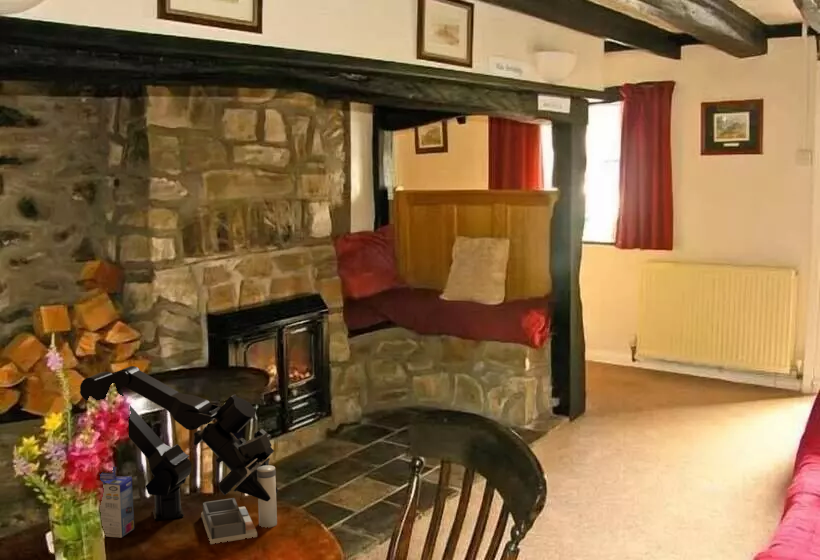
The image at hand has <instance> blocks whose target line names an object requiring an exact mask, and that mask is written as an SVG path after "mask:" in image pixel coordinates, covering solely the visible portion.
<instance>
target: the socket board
mask: <svg viewBox="0 0 820 560" xmlns="http://www.w3.org/2000/svg"><path fill="white" fill-rule="evenodd" d="M200 516H201V520H202V522H203V523H202V524H203V527H204V530H205V532H206V535H207V539H208V538H209V539H208V541H210V542H209V545H214V544H215V543H216V544H219V543H220V542H222V543H228V542H233V541H239V540H245V538H247V539H253V538H257V537H258V531H257V529H256V526H255V525H254V523H253V520H252V518H251V516H250V515H249V512H248V510H247V508H246V506H239V505H238V502H237V500H236V498H235V497H232V498H225V499H217V500H211V501H203V502H202V512H201V515H200ZM252 537H253V538H252ZM227 541H228V542H227ZM220 544H221V543H220Z"/></svg>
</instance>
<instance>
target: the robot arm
mask: <svg viewBox="0 0 820 560" xmlns="http://www.w3.org/2000/svg"><path fill="white" fill-rule="evenodd" d="M112 383H115V384H116V388H117V391H118V393H119V394H120V395H122V396H124V397H125V395H124V390H123V388H124V387H125V388H127V389H129V390H131V391H132V392H134V393H136V394H137V395H139V396H141V397H143V398H145V399H146V400H148V401H150V402H152V403H154V404H155V405H157V406H159V407H161V408H163V409H164V410H166V411H167V412H168V413H169V414H170V415H171V417H172V418H173V420H174V421H175V422H176V423H177V424H179V425H180V426H181V427H183V428H184V429H186V430H188V431H194V430H196V431H195V432H194V433H193V435H194V436H193V438H194V440H193V445H194V446H197V445H198V444H200V443H202V442H204V444H206V446H207V447H208V448H209V449H210V450H211V451H212V453H214V454H215V455H216V457H218V458H217V459H216V460H215V461H216V462H217V463H218V464H221V463H222V464H224V465H225V466H226V468H228V469H229V473H228V474H227V475H226V476H224V478H223V479H221V481H220V482H219V483H218V490H219V491H220V492H221V494H222V495H224V496H226V495H227V494H228V493H229V492H231V491H232V489H233V488H234V489H233V492H234V493H235V492H239V493H242V494H246V495H249V496H251V497H254V498H257V499H258V498H259V499H262V500H264V501H269V500H270V499H271V498H270V496H269V495H268V493H267V492H266V491H265V489H264V488H263V487H262V485H261V484H260V483H259V482H258V480H257V468H258V467H260V466H265V465H270V464H269V463H270V461H271V458H270V456H271V455H272V454H274V452H275V450H274V449H273V448H272V444H271V443H272V442H271V441H270V440H271V438H272V435H271V434H269V433H268V432H267V431H265V430H264V429H263V428H261V429H258V430H256V431H255V432H254V433H253V434H254V435H253V436H254V437H252V438H251V439H249V440H246V439H245V438H243V437H239V438H237V437H236V436H235V434H236V433H239V432H240V431H241V430H242V429H243V428H244V427H245V426H246V425H247V424H248V423H249V422H251V420H252V419H253V418H254V417H255V416H256V410H255V408H254V406H253V405H252V404H251V402H250V401H247V400H246V399H244V398H243V397H238V396H237V395H236V394H232V395H231V396H229V397H228V398H227V400H226V401H225V403H224V404H223V405H219V404H214V403H211V402H210V401H209V400H208V399H206V398H203V397H200V396H197V395H193V394H187V393H183V392H179V391H178V390H176V389H174V388H172V387H170V386H169V385H167V384H166V383H163V382H162V381H160V380H158V379H156V378H154V377H152V376H151V375H149V374H148V373H146V372H144V371H142V370H140V368H139V367H138V366H135V365H129V366H127V367H125V368H123V369H120V370H117V371H115V372H110V371H101V372H98V373H95V374H93V375H91V376H88V377H87V378H86V377H85V378H84V379H83V380H82V381H81V383H80V385H79V387H80V391H79V394H80V396H81V397H82V399H83V400H84V401H86V402H87V400H88V398H89V396H92V397H93V398H95V399H96V400H100V399H104V398H105V397H106V394H107V392H108V390H109V387H110V385H111V384H112ZM130 411H131V414H130V418H129V437H128V438H129V439H130V441H132V443H133V444H134V445H135V446H136V448H138V449H139V450H140V452H141V453H142V454H143V455H144V456H145V457H146V458H147V460H148V465H149V470H150V473H151V474H152V476H153V477H152V479H151V480H149V482H147V484H146V485H145V489H146V491H147V494H148V495H150V496H154V508H152V514H153V519H154V522H155V521H156V522H158V521H164V520H170V519H171V520H172V519H178V518H184V517H185V512H184V510H183V507H182V505H181V489H180V487H181V485H183V484H185V483H186V480H187V478H188V477H189V476H190V475H191V472H192V466H193V465H192V462H191V460H190V459H189V458H190V455H189V454H187V453H186V452H185V451H184V450H183V449H182V447H181V446H180V445H179V444H178V443H177V444H174V445H173V446H170V445H167V444H165V443H164V442H163V440H162V439H161V438H160V437H159V436H158V435H157V434H156V433H155V431H154V430H153V429H152V427H150V426H149V425H148V424H147V422H146V421H145V420H144V419H143V418H142V417H141V416H140V414H139V413H137V411H136V410H135V409H134V408H133V407H132V406H131V405H130ZM215 420H216V421H215ZM213 421H215V422H214V423H213ZM202 426H204V427H203V429H201V430H200V429H199V428H200V427H202ZM197 429H198V430H197ZM235 486H236V487H235ZM278 492H279V490H278V487H277V486H276V494H277V493H278Z"/></svg>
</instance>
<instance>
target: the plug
mask: <svg viewBox="0 0 820 560" xmlns="http://www.w3.org/2000/svg"><path fill="white" fill-rule="evenodd" d="M276 472H277V471H276V467H275V466H274V465H270V464H269V465H265V466H260V467H258V468H257V480H258V482H259V483H260V484H261V485H262V487H263V488H264V489H265V491H266V492H267V493H268V495H269V496H270V498H271V499H270V500H269V501H264V500H262V499H259V498H257V503H258V504H257V505H258V526H259V527H260V526H261V527H260V528H263V527H265V528H264V529H267V527H268V529H270V528H273V527H276V526H277V525H278V514H277V512H278V510H277V493H276V487H277V484H276V481H277V480H276V475H277V474H276Z"/></svg>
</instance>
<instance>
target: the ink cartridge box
mask: <svg viewBox="0 0 820 560" xmlns="http://www.w3.org/2000/svg"><path fill="white" fill-rule="evenodd" d="M112 467H113V470H112V471H111V473H107V472H106V473H105V472H104V471H103V472H102V473H101V474H100V473H99V475H100V480H101V481H102V482H103V488H104V493H103V497H102V501H101V505H100V512H101V520H102V526H103V529H104V531H105V535H106V536H105V537H109V538H120V539H121V538H123V537H125V536H126V535H129V533H131V532H132V531H134V530H135V514H134V496H133V495H134V494H133V478H132V476H126V475H125V476H123V475H122V476H121V475H117V466H112Z"/></svg>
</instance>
